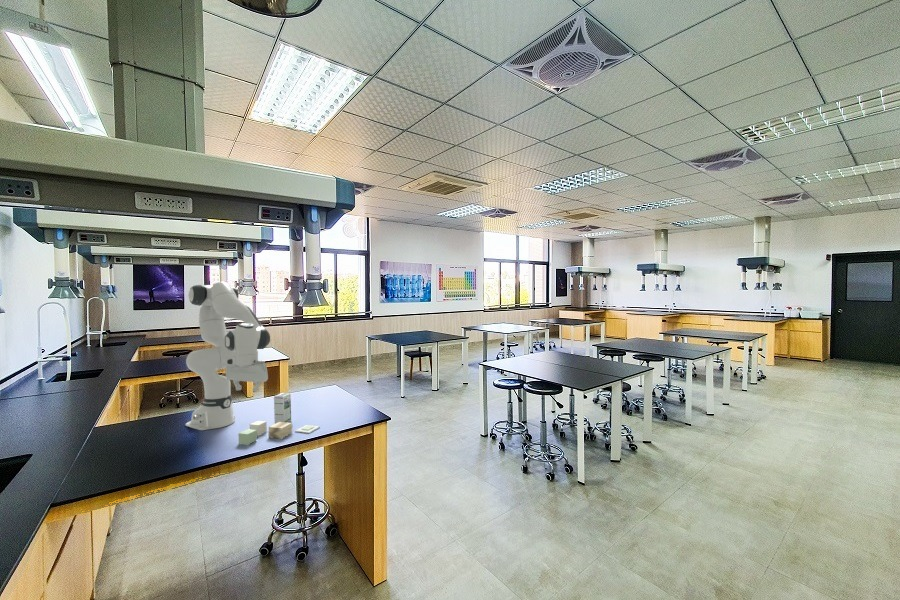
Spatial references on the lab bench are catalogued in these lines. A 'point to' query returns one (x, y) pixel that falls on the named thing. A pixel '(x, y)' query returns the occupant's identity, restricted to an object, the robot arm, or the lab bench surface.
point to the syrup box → (282, 407)
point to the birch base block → (280, 429)
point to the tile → (307, 429)
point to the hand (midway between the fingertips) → (247, 390)
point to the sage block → (247, 436)
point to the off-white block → (259, 427)
